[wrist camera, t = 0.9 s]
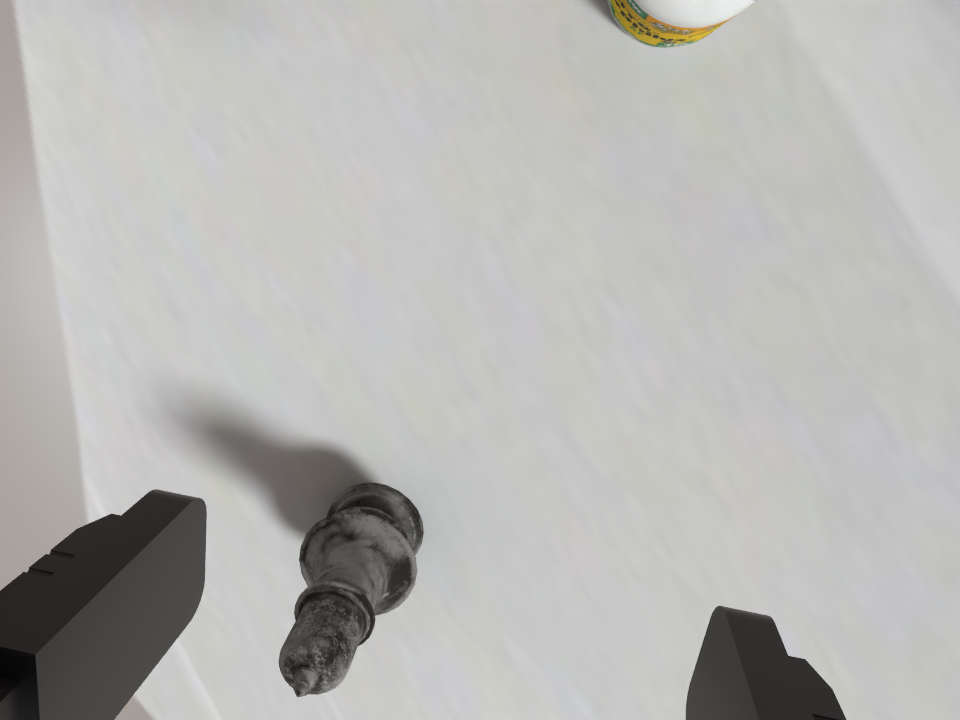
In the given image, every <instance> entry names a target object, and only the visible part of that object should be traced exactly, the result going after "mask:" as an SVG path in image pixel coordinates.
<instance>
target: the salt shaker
mask: <svg viewBox="0 0 960 720" xmlns="http://www.w3.org/2000/svg"><path fill="white" fill-rule="evenodd" d="M423 533H424V532H423V523H422V519H421V517H420V515H419V512H418V510H417V509H416V507H415V506H414V505H413V503H412V502H411V501H410V500H409V499H408V498H407V497H405V496H404V495H403V494H402V493H400V492H399V491H396V490H394V489H392V488H390V487H388V486H383V485H379V484H361V485H358V486H354V487H351V488H349V489H347V490H346V491H344V492H342V493H341V494H340V495H339V496H338V497H337V498H336V499H335V500H334V501H333V503H332V505H331V507H330V509H329V512H328V515H327V517H326V518H324V519H323V520H321V521H319V522H318V523H316V524H315V525H314V526H313V527H312V529H311V530H310V531H309V532H308V533H307V534H306V536H305V539H304V541H303V543H302V545H301V549H300V558H299V561H300V567H301V573H302V575H303V577H304V579H305V581H306V583H307V586H308V588H306V589H305V590H304V591H303V592H302V593H301V594H300V596H299V598H298V600H297V602H296V604H295V611H294V614H295V619H296V622H295V624H294V626H293V628H292V629H291V631H290V633H289V635H288V637H287V639H286V641H285V643H284V645H283V647H282V649H281V652H280V657H279V667H280V671H281V673H282V675H283V677H284V679H285V681H286V682H287V683H288V684H289V685H290V686H291V687H293V689H294V691H295V694H296V696H297V697H300V696H304V695H307V694H321V693H325V692H328V691H330V690H332V689H334V688H336V687H337V686H338V685H339V684H340V683H341V682H342V681H343V679H344V678H345V676H346V674H347V672H348V670H349V667H350V665H351V662H352V659H353V657H354V654H355V652H356V649H357V646H359V645H361V644H363V643H364V642H365V641H366V640H367V639H368V638H369V637H370V635H371V633H372V631H373V629H374V624H375V616H376V615H380V614H384V613H387V612H389V611H391V610H393V609H395V608H396V607H398V606H400V605H401V604H402V603H403V602H404V601H405V600H406V599H407V598H408V596H409V595H410V593H411V591H412V589H413V587H414V585H415V580H416V575H417V566H416V558H415V555H416V554H417V552H418V550H419V548H420V546H421V544H422V539H423Z"/></svg>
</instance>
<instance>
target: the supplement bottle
mask: <svg viewBox="0 0 960 720" xmlns="http://www.w3.org/2000/svg"><path fill="white" fill-rule="evenodd" d="M607 1H608V5H609V8H610V11H611V14H612V16H613V18H614V19H615V21H616V22H617V24H618V25H619V26H620V27H621V29H622V30H623V31H624V32H625V33H627V34H628V35H629V36H630V37H631V38H633V39H634V40H636V41H638V42H640V43H642V44H644V45H647V46H651V47H657V48H673V47H680V46H685V45H689V44H691V43H694V42H696V41H698V40H700V39H702V38H704V37H706V36H707V35H709V34H710V33H712V32H713V31H714V30H716V29H717V28H718V27H720V26H721V25H723V24H724V23H726V22H727V21H729V20H730V19H732V18H733V17H735V16H736V15H738V14H739V13H740V12H742V11H743V10H744V9H746V8H747V7H748V6H749V5H751V4H752V3H753V2H754V1H755V0H607Z"/></svg>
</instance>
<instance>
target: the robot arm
mask: <svg viewBox="0 0 960 720" xmlns="http://www.w3.org/2000/svg"><path fill="white" fill-rule="evenodd" d="M206 515H207V514H206V505H205V502H204V501H203V500H202V499H200V498H196V497H191V496H186V495H181V494H176V493H171V492H166V491H161V490H157V489H156V490H152V491H150V492H149V493H147V494H146V495H145V496H144V497H143V498H141V499H140V500H139V501H138V502H137V503H136V504H134V505H133V506H132V507H131V508H130V509H129V510H127V511H126V512H125V513H124V514H123V515H122V516H120V515H115V514H110V515H108V516H105V517H103V518H101V519H99V520H96V521H94V522H92V523H89V524H87V525H85V526H83V527H80V528H78V529H76V530H75V531H74V532H73V533H71V534H70V535H69V536H68V537H66V538H65V539H64V540H63V541H61V542H60V543H59V544H58V545H56V546H55V547H54V548H53V549H52V550H51V553H50V554H49V555H48V554H46V555H44V556H43V557H42V558H40V559H39V560H38V561H37V562H35V563H34V564H33V565H32V566H31V567H29V571H28V572H27V573H26V572H23V573H22V574H21V575H19V576H18V577H17V578H16V579H15V580H13V581H12V582H11V583H10V584H8V585H7V586H6V587H4V588H3V589H2V590H1V591H0V720H114V719H115V718H116V716H117V715H118V714H119V713H120V711H121V710H122V709H123V707H124V706H125V705H126V704H127V702H128V701H129V700H130V698H131V697H132V696H133V695H134V693H135V692H136V691H137V689H138V688H139V687H140V686H141V684H142V683H143V682H144V680H145V679H146V678H147V677H148V675H149V674H150V673H151V671H152V670H153V669H154V667H155V666H156V665H157V664H158V662H159V661H160V660H161V658H162V657H163V656H164V655H165V653H166V652H167V651H168V649H169V648H170V647H171V646H172V644H173V643H174V642H175V640H176V639H177V638H178V637H179V635H180V634H181V633H182V631H183V630H184V629H185V628H186V626H187V625H188V624H189V622H190V621H191V619H192V618H193V616H194V614H195V612H196V610H197V608H198V605H199V603H200V600H201V597H202V593H203V589H204V582H205V552H206ZM686 720H846V718H845V716H844V714H843V711H842V709H841V707H840V705H839V703H838V701H837V698H836V696H835V694H834V692H833V690H832V689H831V687H830V686H829V685H828V684H827V683H826V682H825V681H824V680H823V679H822V677H821V676H820V675H819V674H818V673H817V672H816V671H815V670H814V669H813V667H812V666H811V665H810V664H809V663H808V662H807V661H806V660H805V659H801V658H796V657H791V656H788V654H787V652H786V649H785V647H784V644H783V642H782V639H781V637H780V635H779V632H778V630H777V627H776V625H775V623H774V621H773V619H772V618H771V617H770V616H767V615H762V614H757V613H752V612H747V611H742V610H737V609H732V608H727V607H723V606H718V607H716V608H715V610H714V611H713V613H712V616H711V618H710V621H709V625H708V628H707V631H706V634H705V637H704V641H703V644H702V647H701V650H700V653H699V657H698V660H697V663H696V666H695V669H694V673H693V676H692V679H691V682H690V686H689V690H688V695H687V703H686Z"/></svg>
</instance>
